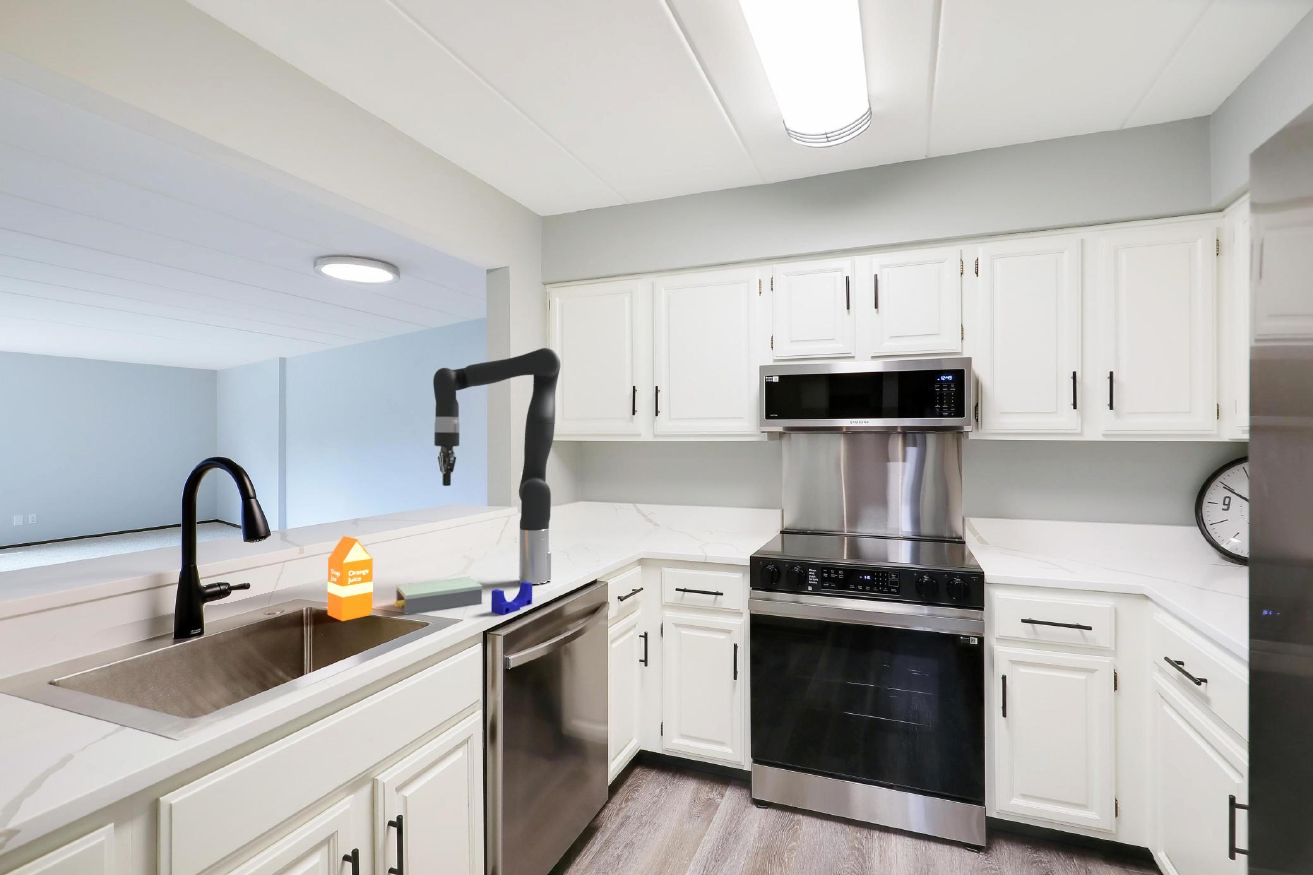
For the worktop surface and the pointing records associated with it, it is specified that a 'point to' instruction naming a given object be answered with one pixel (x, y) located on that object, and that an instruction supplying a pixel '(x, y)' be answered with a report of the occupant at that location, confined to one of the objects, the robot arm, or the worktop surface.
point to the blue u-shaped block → (521, 600)
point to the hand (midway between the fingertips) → (446, 485)
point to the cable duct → (438, 601)
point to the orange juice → (350, 580)
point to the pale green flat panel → (438, 587)
